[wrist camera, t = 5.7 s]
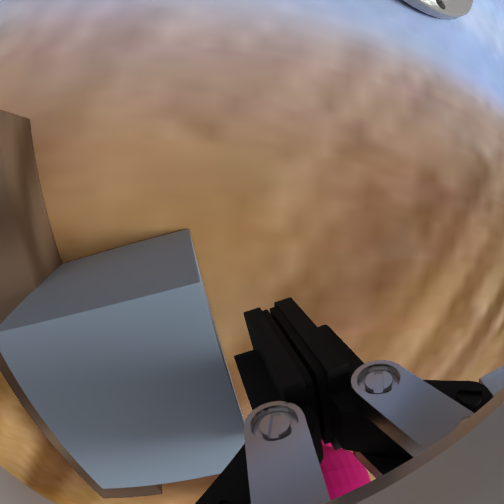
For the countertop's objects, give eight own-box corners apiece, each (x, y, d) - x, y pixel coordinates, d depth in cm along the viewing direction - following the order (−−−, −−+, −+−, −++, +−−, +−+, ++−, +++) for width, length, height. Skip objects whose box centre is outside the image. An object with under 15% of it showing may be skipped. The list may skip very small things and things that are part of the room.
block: (62, 264, 12) (-9, 333, 6) (188, 228, 13) (200, 282, 7) (117, 388, 14) (102, 488, 8) (226, 363, 15) (259, 463, 9)
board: (-32, 151, 9) (-69, 151, 6) (29, 119, 10) (-4, 108, 7) (106, 463, 15) (103, 498, 12) (160, 457, 16) (162, 493, 13)
